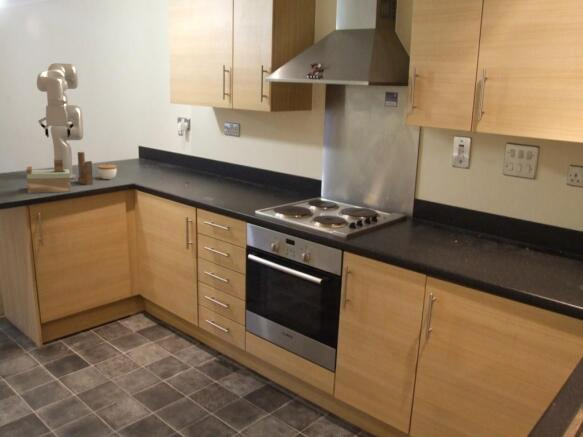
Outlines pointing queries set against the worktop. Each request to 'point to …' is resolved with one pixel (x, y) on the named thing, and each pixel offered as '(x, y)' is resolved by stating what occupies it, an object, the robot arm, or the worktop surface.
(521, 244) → the worktop surface
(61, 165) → the key peg
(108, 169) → the lidded jar
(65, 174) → the toolbox lid
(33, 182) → the base
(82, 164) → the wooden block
